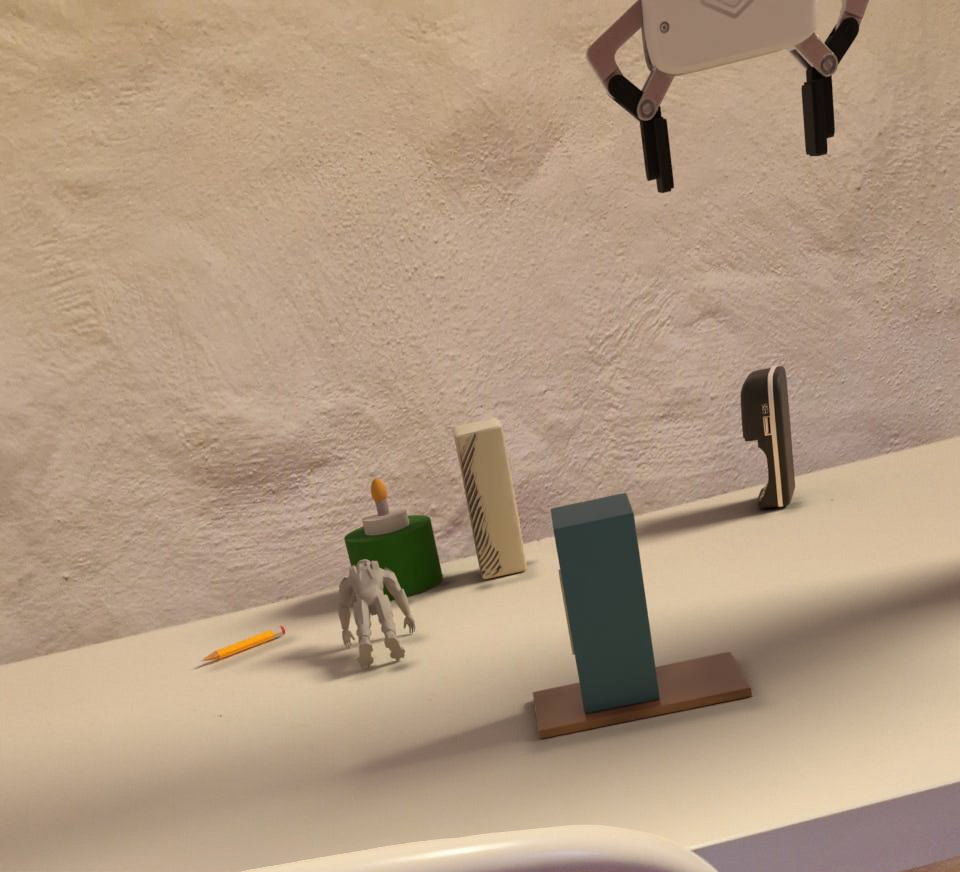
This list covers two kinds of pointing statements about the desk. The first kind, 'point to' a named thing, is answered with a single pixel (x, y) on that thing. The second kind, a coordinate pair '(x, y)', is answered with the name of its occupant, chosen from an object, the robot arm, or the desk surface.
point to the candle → (397, 544)
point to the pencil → (245, 643)
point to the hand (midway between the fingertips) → (740, 173)
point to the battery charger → (770, 431)
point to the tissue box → (605, 602)
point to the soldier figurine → (372, 608)
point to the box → (490, 497)
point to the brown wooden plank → (677, 692)
